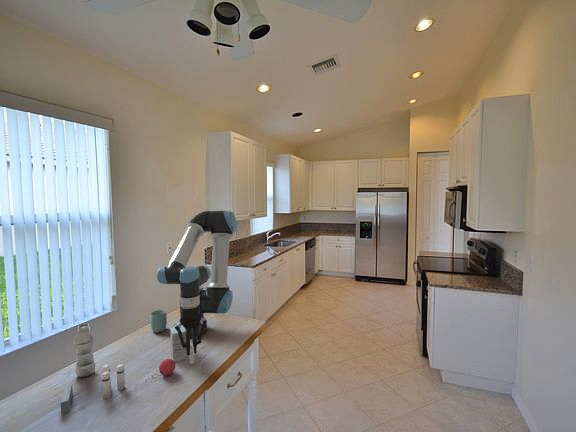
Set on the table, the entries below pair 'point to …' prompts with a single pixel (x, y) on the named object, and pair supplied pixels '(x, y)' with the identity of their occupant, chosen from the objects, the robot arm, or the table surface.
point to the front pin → (120, 377)
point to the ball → (167, 367)
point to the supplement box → (178, 345)
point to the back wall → (66, 399)
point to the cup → (158, 320)
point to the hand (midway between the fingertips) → (191, 361)
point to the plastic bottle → (84, 351)
